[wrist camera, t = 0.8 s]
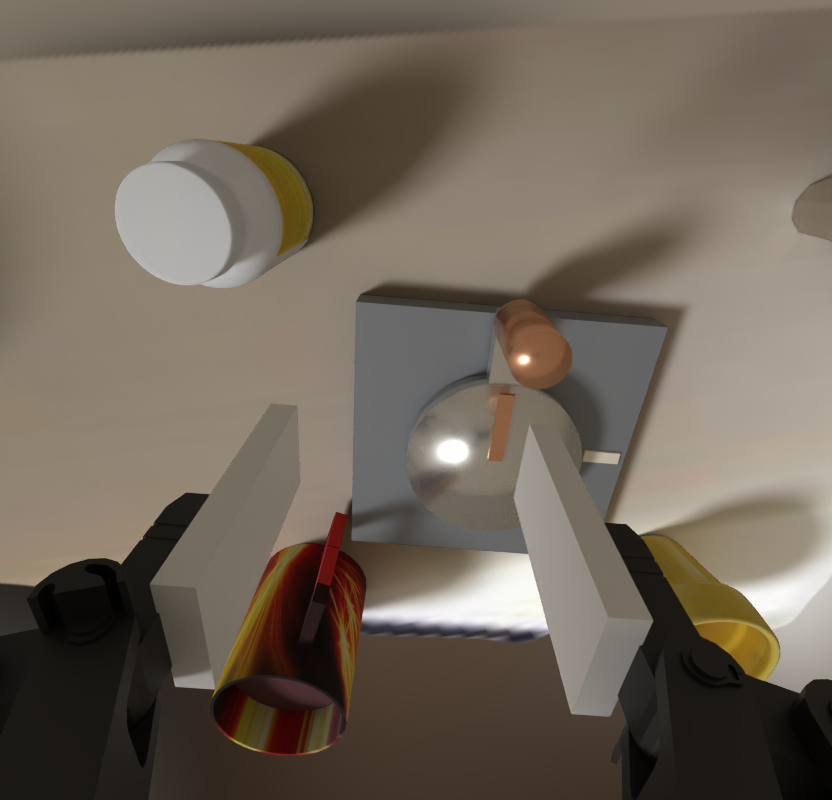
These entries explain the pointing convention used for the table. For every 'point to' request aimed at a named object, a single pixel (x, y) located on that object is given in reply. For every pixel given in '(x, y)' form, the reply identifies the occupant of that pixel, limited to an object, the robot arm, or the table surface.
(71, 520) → the table surface
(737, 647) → the plant pot
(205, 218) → the pill bottle
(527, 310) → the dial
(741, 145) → the table surface
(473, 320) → the base plate
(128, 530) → the table surface
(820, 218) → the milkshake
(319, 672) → the mug
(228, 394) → the table surface
